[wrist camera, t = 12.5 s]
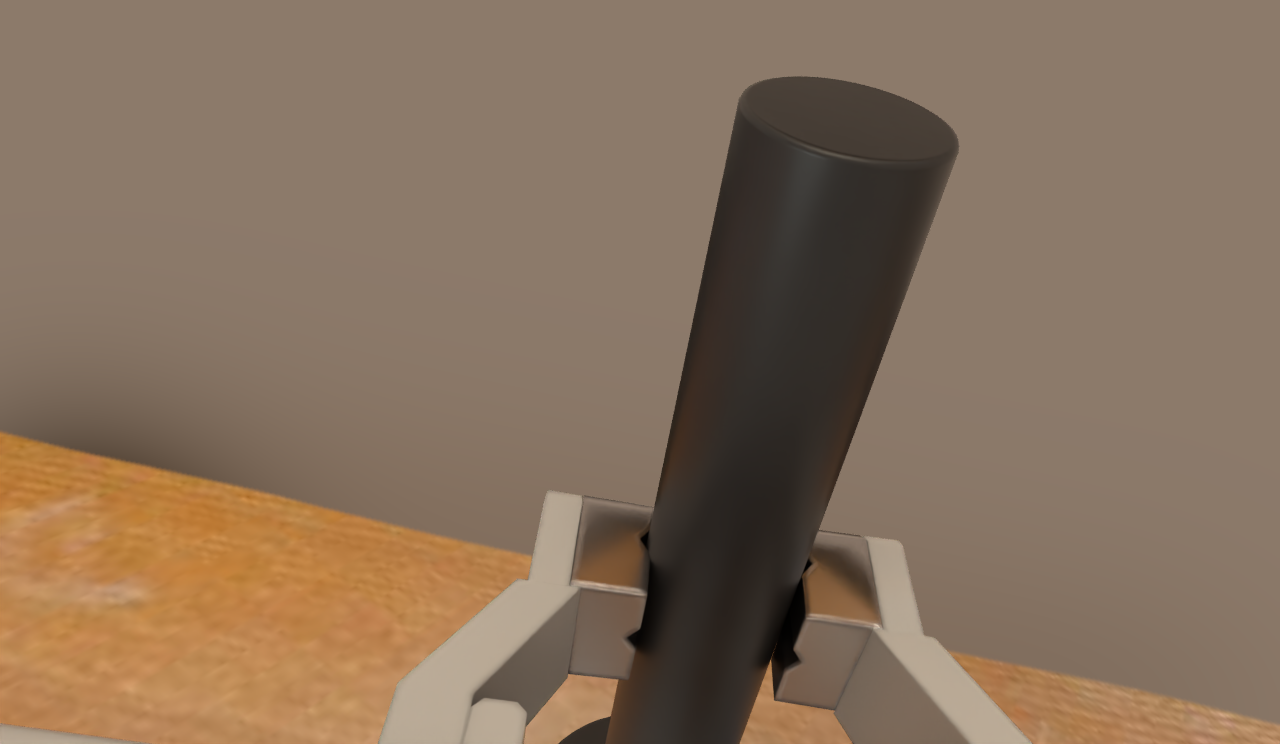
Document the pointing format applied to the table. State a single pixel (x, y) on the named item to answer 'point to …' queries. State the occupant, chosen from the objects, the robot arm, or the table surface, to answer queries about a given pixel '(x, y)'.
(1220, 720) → the table surface
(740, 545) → the black rod with base
